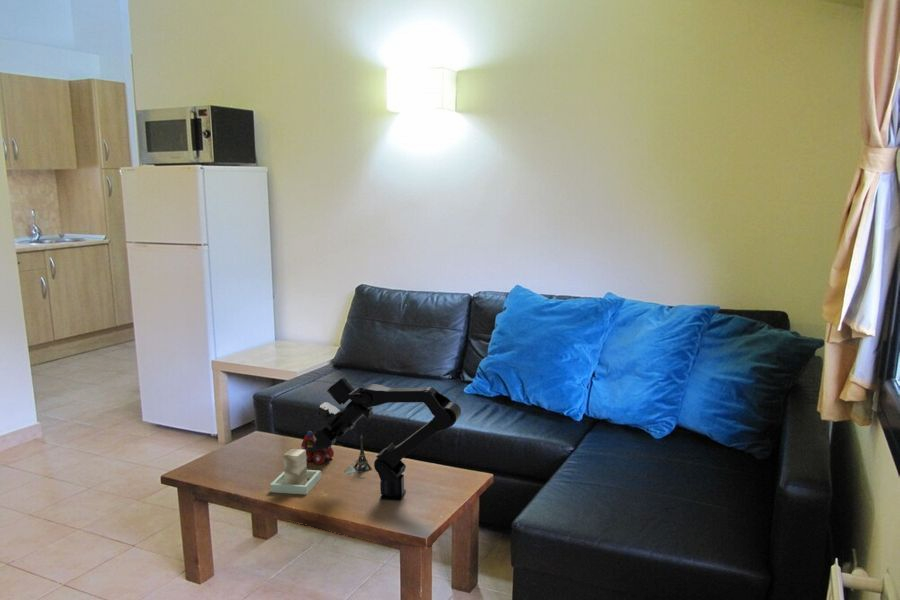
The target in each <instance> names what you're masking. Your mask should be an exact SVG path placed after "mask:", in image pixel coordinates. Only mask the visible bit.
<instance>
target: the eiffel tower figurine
mask: <svg viewBox="0 0 900 600" xmlns="http://www.w3.org/2000/svg"><path fill="white" fill-rule="evenodd" d="M362 433H363V432H361V435H360V451H359V457H358V458H357V459H356V460H355V461H353V462H352V463H351V464H350V465H349V466H348V467H346V468H345V469H344V470H343V471H342V473H343V474H344V475H346V476H355V474H356V473H358V474H360V473H364V472H369V471H373V468H372V467H371V465H370V463H369V461H368V459H367V458H366V454H365V449H364V441H363V435H362ZM354 464H355V465H354ZM355 478H357V479H358V478H361V479H366V478H367V477H366V476H361V475H356V476H355Z"/></svg>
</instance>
